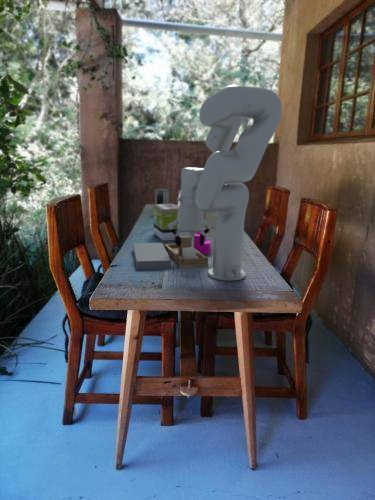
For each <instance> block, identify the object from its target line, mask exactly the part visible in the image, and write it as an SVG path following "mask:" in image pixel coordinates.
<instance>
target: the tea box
mask: <svg viewBox="0 0 375 500" xmlns="http://www.w3.org/2000/svg"><path fill="white" fill-rule="evenodd" d="M178 207H179V205H176V204H174V203H168V204H155V203H154V204H153V207H152V208H153V235H156V236H157V237H158V238H159V239H160V240H161V241H175V235H174V234H173V233H172V232H171V230H170V229H169V227H168V224H169V223H171V222H173V221H175V220H176V219H177V213H178ZM173 229H174V230H175V231H176V230H177V224H175V225H174V226H173ZM179 236H183V232H182V231H181V233H180V234H179Z"/></svg>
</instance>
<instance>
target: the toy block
mask: <svg viewBox="0 0 375 500" xmlns="http://www.w3.org/2000/svg"><path fill="white" fill-rule="evenodd" d="M205 229H206V228H204V230H205ZM204 230H203V231H204ZM200 234H201V233H200V231H196V234H194V235H193V248H195V249H196V250H198V251H199V252H200V253H202V254H203V255H210V252H211V248H212V240H211V239H209V240H207V234H206V235H205V239H204V243H203V246H201V245H200V244H199V243H200Z"/></svg>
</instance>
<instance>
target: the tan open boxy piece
mask: <svg viewBox="0 0 375 500" xmlns="http://www.w3.org/2000/svg"><path fill="white" fill-rule="evenodd" d="M179 237H180V240H179V247H177V245H176V244H175V243H164V244H163V245H164V247H165V249H166V251H167V253H168V255H169V257H170V259H172V260H173V261H174V262H175V263H176V264H177V265H178V266H179V267H180V268H183V269H184V268H196V267H197V268H198V267H208V266H209V258H208V257H207V256H206V255H205V254H202V253H200V252H199V251H198V250H196V258H194V259H183V258H182V248H186V247H193V246H192V245H193V244H192V242H193V241H192V237H191V236H190V235H182V236H179Z"/></svg>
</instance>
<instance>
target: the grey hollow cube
mask: <svg viewBox="0 0 375 500" xmlns="http://www.w3.org/2000/svg"><path fill="white" fill-rule="evenodd" d="M169 191H170V189H167V188H158V189H157V188H156V189H154V204H169V202H170V201H169V199H170V198H169V197H170V196H169V195H170V193H169Z"/></svg>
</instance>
